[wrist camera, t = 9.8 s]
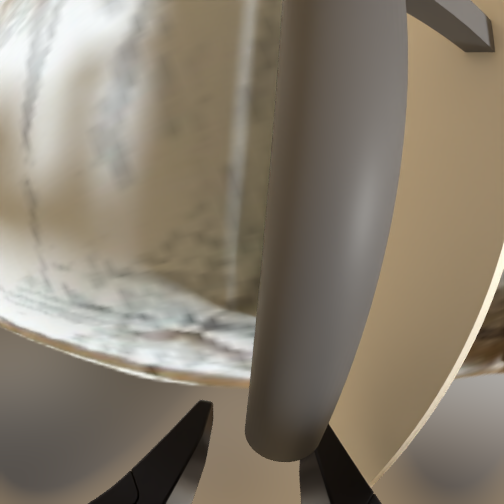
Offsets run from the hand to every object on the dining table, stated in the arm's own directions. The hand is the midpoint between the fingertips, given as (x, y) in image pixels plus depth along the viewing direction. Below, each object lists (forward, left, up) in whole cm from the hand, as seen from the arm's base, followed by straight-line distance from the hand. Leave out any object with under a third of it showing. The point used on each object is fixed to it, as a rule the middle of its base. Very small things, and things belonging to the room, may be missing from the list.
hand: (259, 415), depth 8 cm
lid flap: (-3, -6, -3) cm, 7 cm away
